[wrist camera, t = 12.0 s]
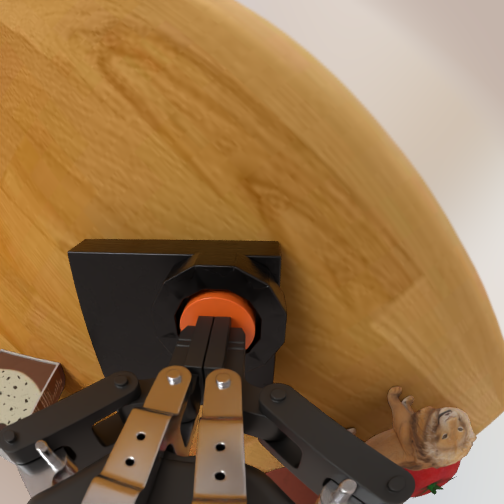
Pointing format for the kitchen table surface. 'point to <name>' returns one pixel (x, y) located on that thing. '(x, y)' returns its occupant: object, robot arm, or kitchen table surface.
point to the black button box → (173, 298)
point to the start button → (221, 310)
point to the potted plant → (292, 486)
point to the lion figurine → (423, 435)
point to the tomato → (432, 478)
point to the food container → (26, 387)
